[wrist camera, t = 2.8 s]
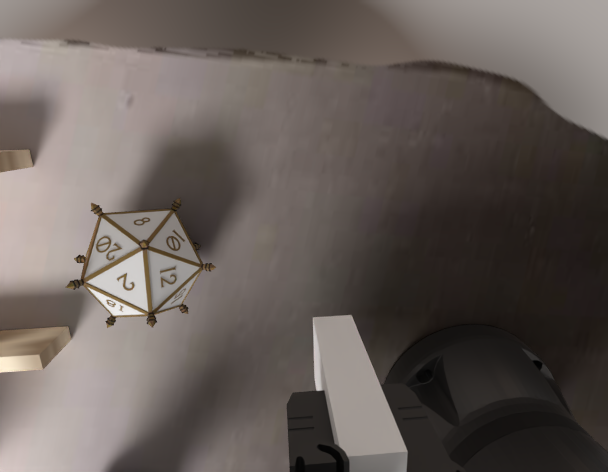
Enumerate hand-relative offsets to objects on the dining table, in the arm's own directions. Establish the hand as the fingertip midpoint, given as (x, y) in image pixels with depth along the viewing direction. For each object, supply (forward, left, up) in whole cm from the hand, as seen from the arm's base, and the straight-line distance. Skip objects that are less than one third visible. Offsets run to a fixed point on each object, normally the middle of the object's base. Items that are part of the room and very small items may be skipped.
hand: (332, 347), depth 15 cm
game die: (+11, 0, -16) cm, 20 cm away
